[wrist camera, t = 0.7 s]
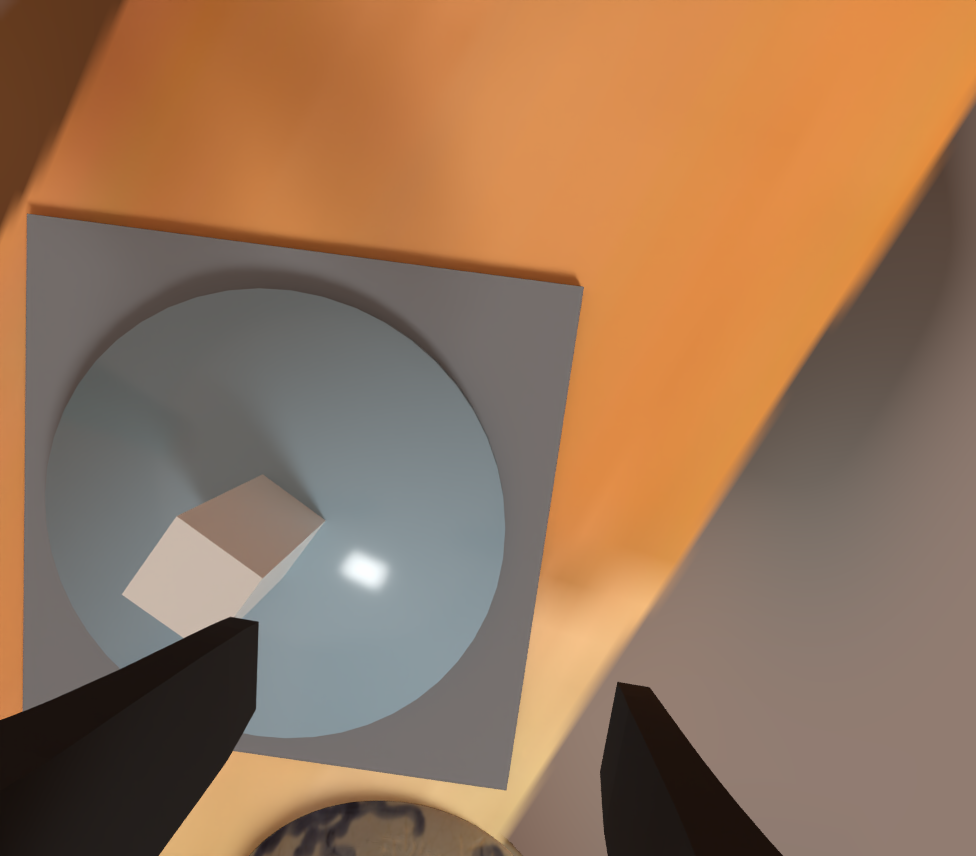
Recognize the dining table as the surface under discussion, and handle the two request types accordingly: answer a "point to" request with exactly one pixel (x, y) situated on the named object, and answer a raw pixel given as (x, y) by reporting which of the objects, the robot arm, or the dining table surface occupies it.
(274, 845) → the decorative bowl
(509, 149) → the dining table surface
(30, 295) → the mat
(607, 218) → the dining table surface
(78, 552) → the lid
